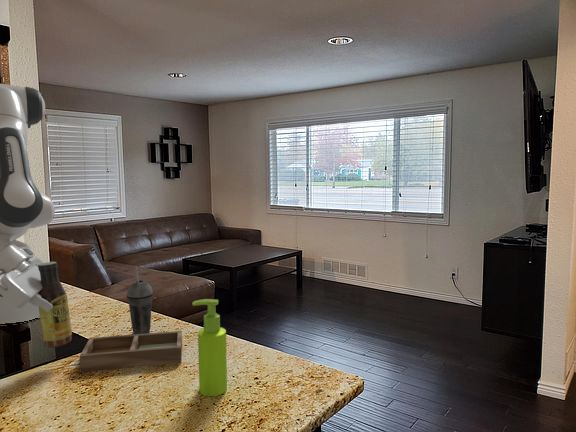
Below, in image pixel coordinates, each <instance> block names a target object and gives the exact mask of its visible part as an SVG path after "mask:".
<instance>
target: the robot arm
mask: <svg viewBox="0 0 576 432" xmlns="http://www.w3.org/2000/svg"><path fill="white" fill-rule="evenodd" d="M45 112H46V102H45V99H44V97H43V96H42V93H41V92H40V91H39V90H38V89H36V88H33V87H30V86H25V87H23V86H20V85H19V86H18V85H13V84H7V83H6V84H5V83H0V324H5V323H16V322H24V321H28V322H30V321H29V320H32V319H35V318H38V319H40V314H39V307H40V308H42V309H44V310H45V311H46V312H49V311H50V310H51V309H52V308H53V306H54V304H53V303H51V302H50V301H49V300H48V301H47V300H45V299H43V298H41V296H40V295H39V294H38V292H39V291H40V290H42V284H41V277H40V271H39V270H38V265H39V264H42V263H45V262H44V261H43V260H41V259H40V258H39V257H38V256H37V257H36V256H35V254H36V253H35V252H34V251H33V250H32V248H31V246H29V245H28V244H27V243H25V242H22V241H20V240H17V239H19V238H21V237H22V236H24V235H25V234H26V233H27V232H28V230H29V229H35V228H39V227H43V226H46V225H49V224H50V223H51V222H52V221H53V220H54V217H55V212H56V210H55V209H56V208H55V204H54V201H52V199H51V198H50V197H49V196H48V195H46V194H44V193H43V192H42V191H40V190H39V189H38V187H37V186H36V184H35V183H34V180H33V177H32V175H31V167H30V163H29V156H28V149H27V146H28V129H31V127H32V126H34V125H37V124H38V123H40V122H41V121H42V120H43V117H44V115H45ZM35 320H36V319H35ZM32 321H33V320H32ZM24 323H25V322H24Z"/></svg>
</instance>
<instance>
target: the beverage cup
mask: <svg viewBox="0 0 576 432" xmlns="http://www.w3.org/2000/svg"><path fill="white" fill-rule="evenodd" d="M134 268H135V274H136V275H135V276H136V277H135V278H136V281H133V283H131V284H130V285H129V287H128V288H127V292H126V298H127V303H128V307H129V315H130V321H131V329H132V335H134V334H147V333H151V322H152V303H153V298H154V292H153V288H152V286H151V285H150V283H149V282H148V281H145V280H139V278H140V277H139V272H138V266H135V267H134Z"/></svg>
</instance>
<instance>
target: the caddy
mask: <svg viewBox="0 0 576 432" xmlns="http://www.w3.org/2000/svg"><path fill="white" fill-rule="evenodd" d="M182 331H183V330H175V331H163V332H161V331H160V332H150V333H147V334H134V335H133V334H125V335H111V336H97V337H89V339H88V340H87V343H86V344H85V346H84V347H83V350H82V352H81V353H80V354H79V368H80V373H87V372H98V371H109V370H112V371H113V370H121V369H131V368H133V369H134V368H143V367H153V366H163V365H174V364H175V365H176V364H181V363H182V355H183V332H182Z"/></svg>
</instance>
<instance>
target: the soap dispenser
mask: <svg viewBox="0 0 576 432" xmlns="http://www.w3.org/2000/svg"><path fill="white" fill-rule="evenodd" d="M218 304H219V299H216V298H215V299H214V298H213V299H212V298H204V299H203V298H202V299H198V300H194V301H192V303H191V305H192V306H193V307H195V306H202V305H204V306H206V305H207V313H206V314H204V315H203V328H202V329H200V330H198V332H197V337H198V338H197V342H198V343H197V345H198V347H197V348H198V386H199V388H198V390H199V393H200V394H201V395H202V394H203V395H202V396H204V395H205V396H204V397H209V396H213V397H218V395H219V396H222V395H223V394H225V393H226V392H227V390H228V380H227V379H228V375H227V374H228V373H227V371H228V370H227V363H228V362H227V330H226V329H225V328H224V327H221V315H220V314H219V313H217V312H216V311H217V310H216V306H218Z"/></svg>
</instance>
